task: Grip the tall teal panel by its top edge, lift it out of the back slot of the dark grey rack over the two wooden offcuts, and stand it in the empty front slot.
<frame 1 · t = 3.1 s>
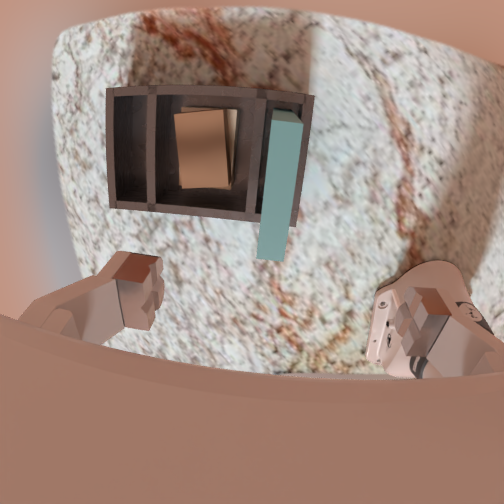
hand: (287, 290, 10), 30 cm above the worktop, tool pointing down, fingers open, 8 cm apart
birch offcut: (210, 144, 35), point 1 cm above the worktop, touching rack, walnut offcut
walnut offcut: (206, 145, 33), point 4 cm above the worktop, touching birch offcut
rack: (201, 141, 36), on the worktop
teal panel: (277, 151, 35), point 1 cm above the worktop, touching rack
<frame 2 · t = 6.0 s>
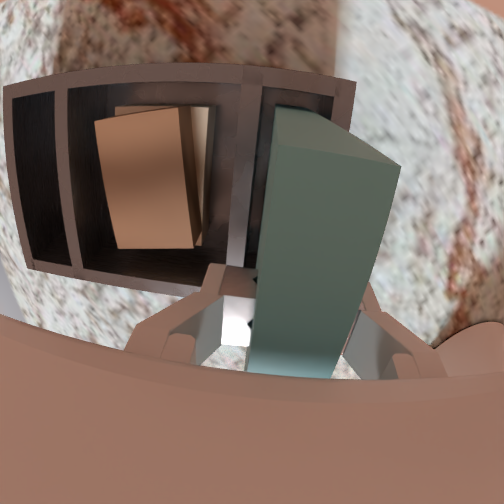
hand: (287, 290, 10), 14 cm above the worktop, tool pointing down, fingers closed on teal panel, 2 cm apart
birch offcut: (169, 167, 21), point 1 cm above the worktop, touching rack, walnut offcut
walnut offcut: (157, 172, 19), point 4 cm above the worktop, touching birch offcut
rack: (156, 161, 22), on the worktop
teal panel: (281, 178, 21), point 1 cm above the worktop, touching gripper, rack
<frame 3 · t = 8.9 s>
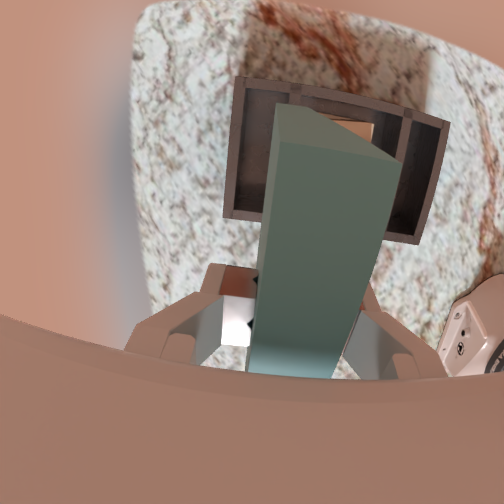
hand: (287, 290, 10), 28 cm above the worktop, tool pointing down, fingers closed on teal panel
walnut offcut: (339, 157, 30), point 4 cm above the worktop, touching birch offcut
rack: (319, 151, 34), on the worktop
teal panel: (282, 177, 21), point 15 cm above the worktop, touching gripper
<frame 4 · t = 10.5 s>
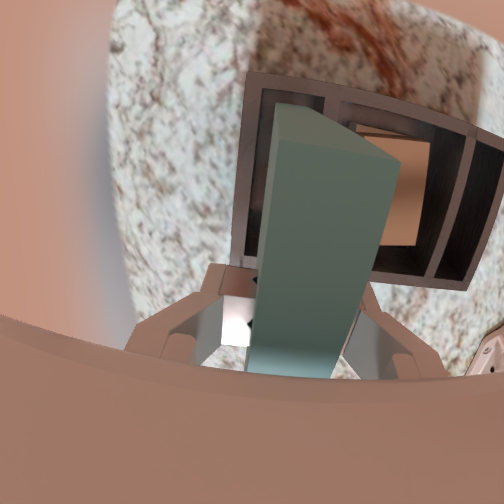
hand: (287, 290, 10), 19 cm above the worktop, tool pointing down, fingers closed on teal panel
birch offcut: (373, 179, 25), point 1 cm above the worktop, touching rack, walnut offcut
walnut offcut: (383, 184, 23), point 4 cm above the worktop, touching birch offcut
rack: (352, 171, 26), on the worktop
teal panel: (281, 177, 21), point 6 cm above the worktop, touching gripper
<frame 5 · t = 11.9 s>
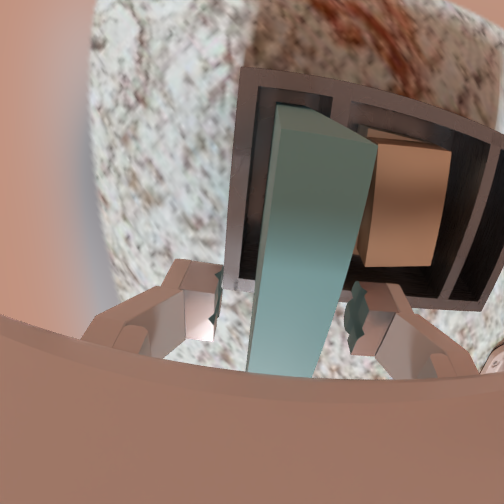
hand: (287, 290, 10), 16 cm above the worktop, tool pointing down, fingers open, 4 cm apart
birch offcut: (384, 189, 22), point 1 cm above the worktop, touching rack, walnut offcut
walnut offcut: (396, 197, 20), point 4 cm above the worktop, touching birch offcut
rack: (361, 180, 23), on the worktop
teal panel: (281, 171, 22), point 1 cm above the worktop, touching rack
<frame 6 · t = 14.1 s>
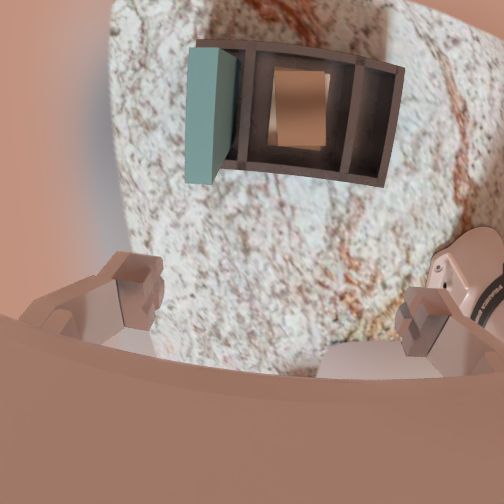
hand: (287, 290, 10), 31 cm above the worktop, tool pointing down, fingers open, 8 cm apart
birch offcut: (296, 106, 34), point 1 cm above the worktop, touching rack, walnut offcut
walnut offcut: (298, 106, 31), point 4 cm above the worktop, touching birch offcut
rack: (283, 104, 35), on the worktop
teal panel: (228, 100, 34), point 1 cm above the worktop, touching rack
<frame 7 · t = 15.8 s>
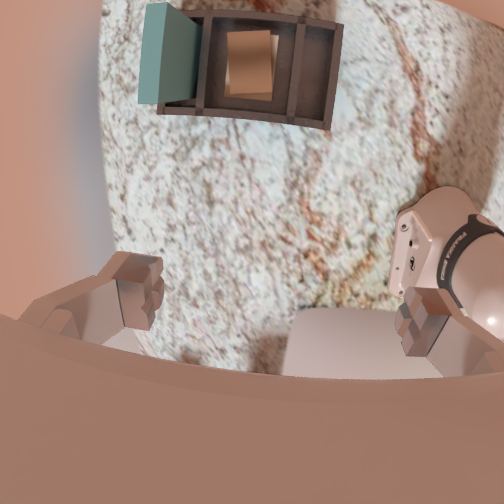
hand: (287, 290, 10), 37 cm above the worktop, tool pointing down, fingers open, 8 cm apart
birch offcut: (252, 66, 37), point 1 cm above the worktop, touching rack, walnut offcut
walnut offcut: (251, 63, 34), point 4 cm above the worktop, touching birch offcut
rack: (242, 66, 38), on the worktop
teal panel: (194, 63, 37), point 1 cm above the worktop, touching rack
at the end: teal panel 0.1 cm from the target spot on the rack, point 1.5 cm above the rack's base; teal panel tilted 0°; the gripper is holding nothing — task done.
